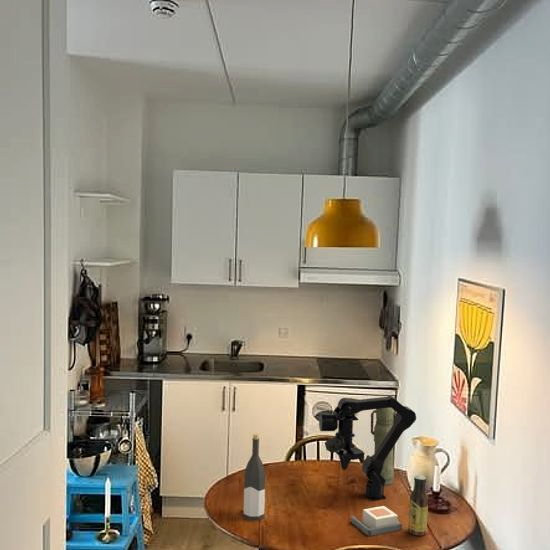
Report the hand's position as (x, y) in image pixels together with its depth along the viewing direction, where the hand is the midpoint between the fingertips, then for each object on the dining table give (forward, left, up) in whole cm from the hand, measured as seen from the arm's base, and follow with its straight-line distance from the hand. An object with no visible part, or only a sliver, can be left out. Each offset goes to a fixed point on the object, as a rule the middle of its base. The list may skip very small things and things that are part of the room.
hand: (344, 469), depth 230 cm
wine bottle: (+40, +3, -11) cm, 41 cm away
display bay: (+2, +25, -11) cm, 27 cm away
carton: (0, +26, -11) cm, 28 cm away
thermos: (-24, -8, -11) cm, 28 cm away
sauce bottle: (-9, +35, -11) cm, 38 cm away
